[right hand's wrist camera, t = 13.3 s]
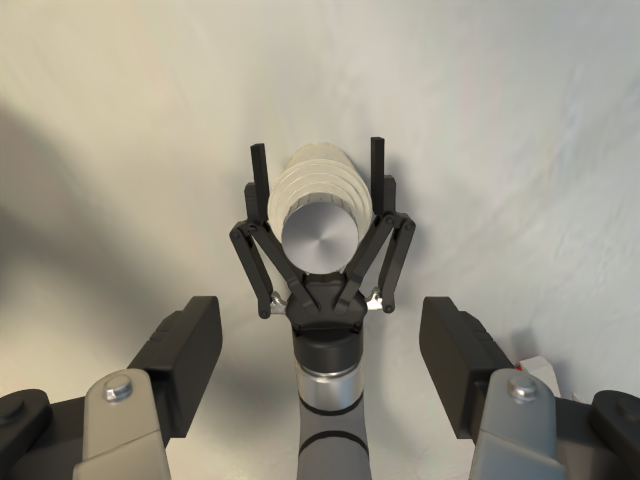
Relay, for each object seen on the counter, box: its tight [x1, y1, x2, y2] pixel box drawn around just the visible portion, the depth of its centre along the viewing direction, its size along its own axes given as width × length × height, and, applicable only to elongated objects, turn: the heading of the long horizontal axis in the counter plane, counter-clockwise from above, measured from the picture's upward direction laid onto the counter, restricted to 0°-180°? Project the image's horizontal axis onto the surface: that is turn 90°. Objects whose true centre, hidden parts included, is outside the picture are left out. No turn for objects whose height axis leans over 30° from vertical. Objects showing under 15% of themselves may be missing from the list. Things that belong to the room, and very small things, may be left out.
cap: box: [281, 192, 359, 274], centre depth 20 cm, size 4×4×2 cm
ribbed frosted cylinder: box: [268, 143, 372, 244], centre depth 29 cm, size 8×8×19 cm
